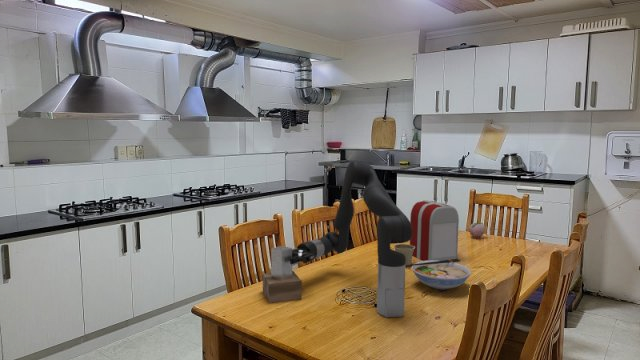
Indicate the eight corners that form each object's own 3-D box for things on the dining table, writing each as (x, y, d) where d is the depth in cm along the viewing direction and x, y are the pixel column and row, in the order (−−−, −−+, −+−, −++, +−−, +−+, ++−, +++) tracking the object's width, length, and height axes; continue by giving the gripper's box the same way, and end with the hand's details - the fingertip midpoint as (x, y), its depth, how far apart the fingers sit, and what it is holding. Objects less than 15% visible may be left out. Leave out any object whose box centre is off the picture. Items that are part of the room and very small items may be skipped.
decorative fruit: (474, 235, 260) (474, 219, 259) (487, 238, 253) (487, 221, 252) (465, 238, 254) (465, 221, 253) (478, 240, 247) (479, 223, 246)
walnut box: (301, 299, 161) (301, 280, 161) (269, 303, 158) (269, 284, 157) (293, 288, 173) (293, 270, 172) (262, 291, 169) (262, 273, 168)
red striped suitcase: (435, 251, 227) (437, 199, 223) (458, 260, 210) (460, 204, 207) (408, 254, 221) (409, 200, 217) (428, 264, 204) (430, 206, 201)
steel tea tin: (292, 276, 165) (292, 248, 164) (281, 280, 161) (281, 251, 159) (281, 273, 168) (281, 245, 167) (271, 277, 164) (271, 248, 163)
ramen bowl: (426, 300, 161) (426, 278, 160) (398, 279, 183) (399, 260, 182) (485, 294, 168) (486, 273, 167) (452, 274, 189) (452, 256, 189)
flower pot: (414, 268, 197) (415, 250, 196) (393, 267, 199) (393, 248, 198) (414, 262, 207) (414, 244, 206) (394, 261, 208) (394, 243, 208)
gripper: (297, 238, 180) (268, 246, 168) (324, 244, 171) (296, 253, 159) (297, 256, 181) (269, 265, 169) (324, 262, 172) (296, 273, 160)
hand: (282, 259), depth 164 cm, fingers open, 8 cm apart
